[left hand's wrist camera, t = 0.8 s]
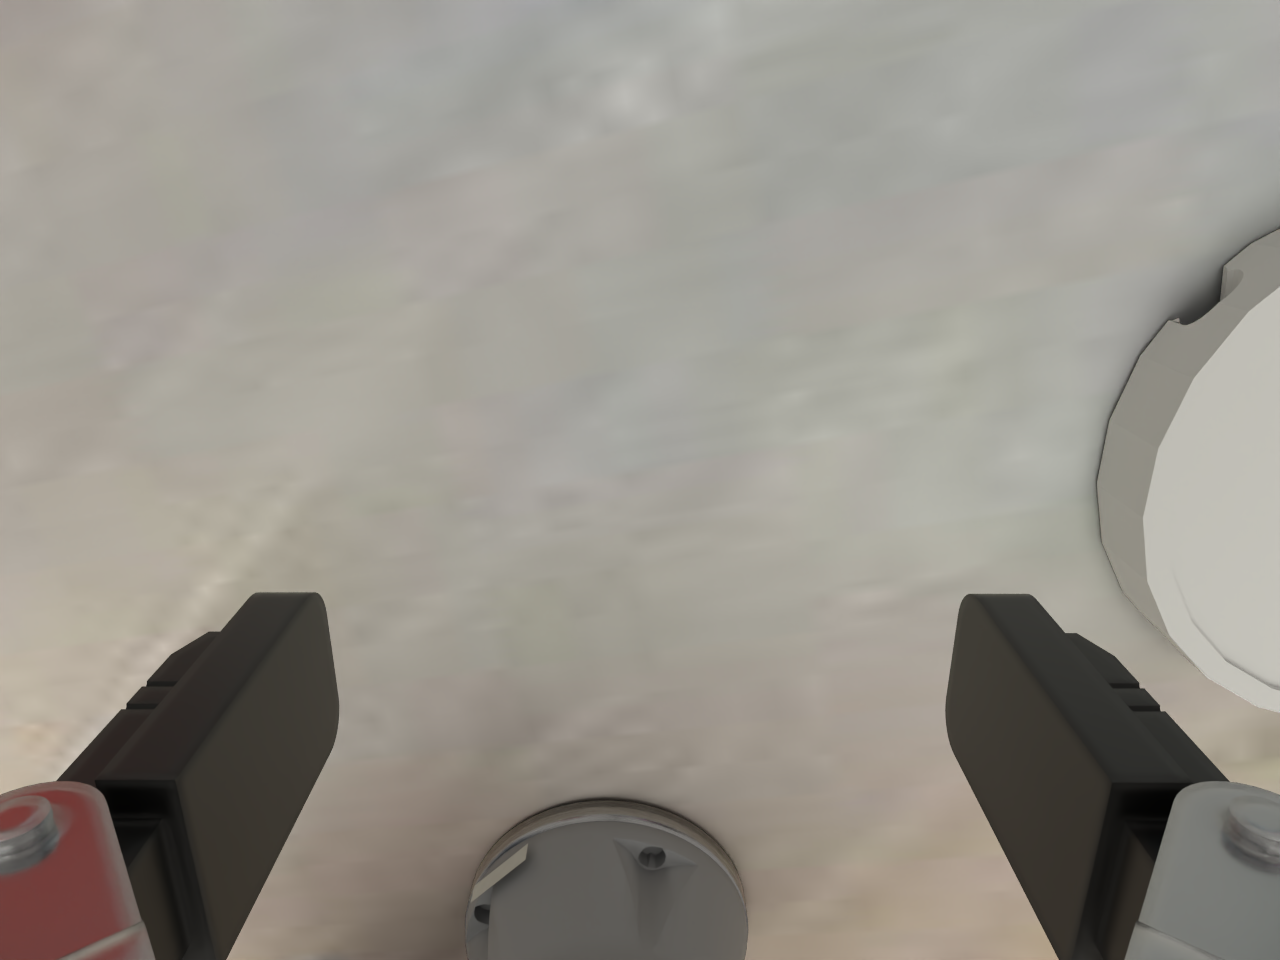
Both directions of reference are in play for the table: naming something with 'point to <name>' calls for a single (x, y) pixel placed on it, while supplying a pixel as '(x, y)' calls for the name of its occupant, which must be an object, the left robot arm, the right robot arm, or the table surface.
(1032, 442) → the table surface
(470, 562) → the table surface
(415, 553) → the table surface
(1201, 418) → the ashtray
